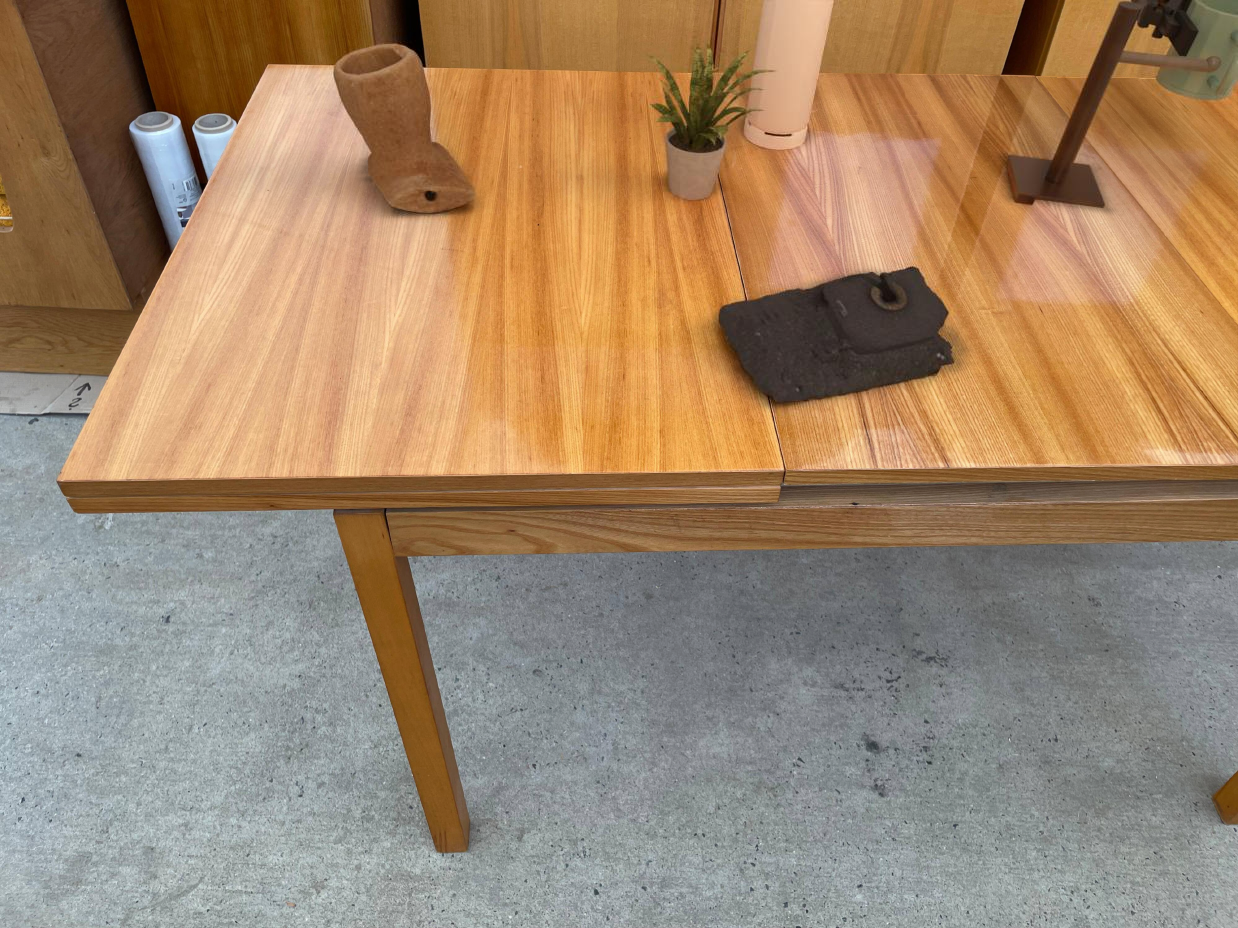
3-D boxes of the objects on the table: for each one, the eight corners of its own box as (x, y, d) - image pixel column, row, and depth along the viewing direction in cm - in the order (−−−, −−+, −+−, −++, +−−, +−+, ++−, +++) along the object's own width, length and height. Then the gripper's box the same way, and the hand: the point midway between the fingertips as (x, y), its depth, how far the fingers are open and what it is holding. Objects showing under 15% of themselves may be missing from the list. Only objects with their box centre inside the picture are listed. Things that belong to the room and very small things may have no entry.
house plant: (782, 210, 103) (810, 68, 91) (679, 235, 98) (695, 89, 86) (718, 155, 111) (736, 19, 100) (620, 176, 107) (627, 35, 95)
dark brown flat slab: (697, 314, 88) (702, 274, 85) (885, 278, 94) (897, 239, 91) (766, 414, 78) (775, 373, 75) (972, 366, 84) (989, 326, 81)
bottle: (730, 132, 116) (766, -117, 96) (772, 115, 120) (814, -127, 100) (776, 156, 112) (823, -98, 92) (818, 138, 116) (871, -109, 96)
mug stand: (1139, 180, 112) (1230, 1, 97) (1158, 221, 105) (1259, 35, 90) (1005, 163, 113) (1073, -16, 98) (1015, 202, 107) (1090, 16, 91)
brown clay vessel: (345, 166, 106) (320, 35, 95) (442, 151, 109) (429, 23, 98) (373, 231, 96) (349, 94, 85) (479, 212, 100) (468, 78, 89)
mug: (1148, 67, 108) (1186, -12, 102) (1219, 75, 107) (1261, -4, 101) (1172, 110, 100) (1215, 27, 93) (1249, 119, 99) (1297, 36, 92)
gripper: (1250, 21, 115) (1311, 94, 99) (1082, 2, 117) (1116, 71, 101) (1284, -43, 109) (1355, 24, 94) (1107, -62, 111) (1148, 1, 96)
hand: (1231, 48), depth 97 cm, fingers closed on mug, 8 cm apart
